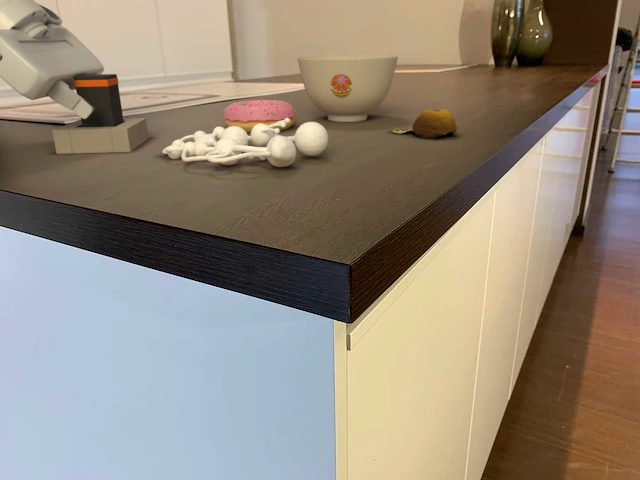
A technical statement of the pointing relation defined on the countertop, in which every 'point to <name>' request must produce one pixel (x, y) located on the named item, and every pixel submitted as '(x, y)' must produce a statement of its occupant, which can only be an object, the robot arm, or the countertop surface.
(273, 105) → the doughnut
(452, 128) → the fruit
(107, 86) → the black orange-banded block
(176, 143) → the tangled rod sculpture
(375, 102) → the bowl
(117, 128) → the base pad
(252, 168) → the countertop surface
